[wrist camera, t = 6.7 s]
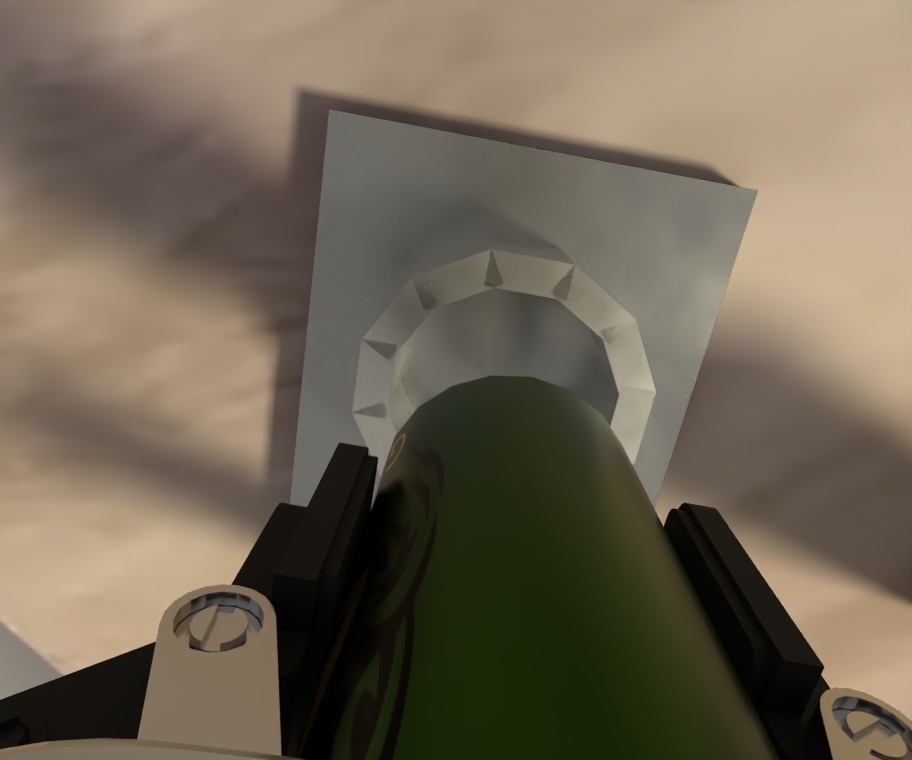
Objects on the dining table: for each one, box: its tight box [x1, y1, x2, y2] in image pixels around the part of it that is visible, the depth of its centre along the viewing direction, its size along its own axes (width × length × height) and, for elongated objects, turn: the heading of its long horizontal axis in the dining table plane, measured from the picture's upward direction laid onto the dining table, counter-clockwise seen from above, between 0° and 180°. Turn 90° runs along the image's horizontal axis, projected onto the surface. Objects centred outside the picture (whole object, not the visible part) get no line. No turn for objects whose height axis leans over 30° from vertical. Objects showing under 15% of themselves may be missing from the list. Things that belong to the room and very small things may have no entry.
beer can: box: [294, 375, 781, 760], centre depth 9 cm, size 5×5×12 cm
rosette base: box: [290, 109, 758, 508], centre depth 16 cm, size 22×13×15 cm, turn 170°
